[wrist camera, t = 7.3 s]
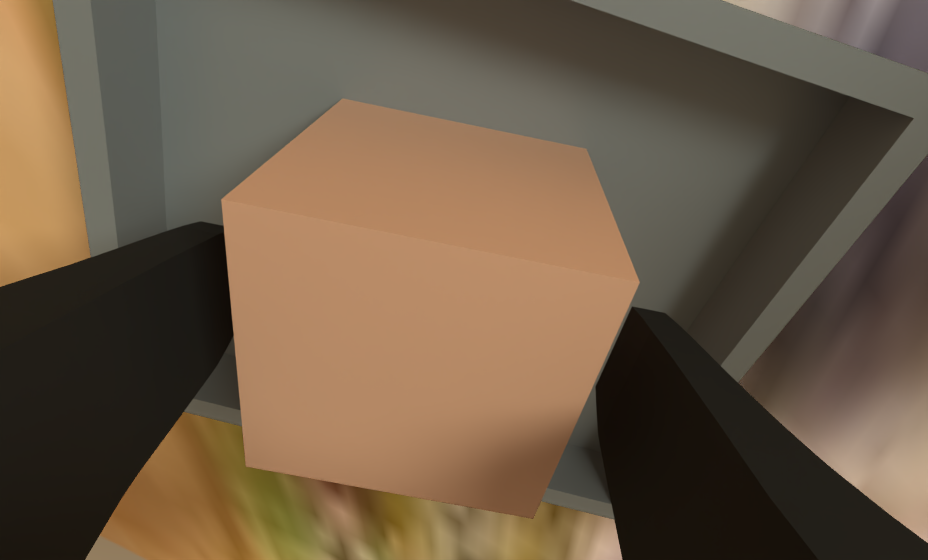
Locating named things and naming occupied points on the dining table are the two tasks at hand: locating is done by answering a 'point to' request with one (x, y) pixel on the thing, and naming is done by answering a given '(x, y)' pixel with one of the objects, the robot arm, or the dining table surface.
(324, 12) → the tray
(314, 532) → the dining table surface
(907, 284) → the dining table surface
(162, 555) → the dining table surface
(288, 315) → the terracotta block
